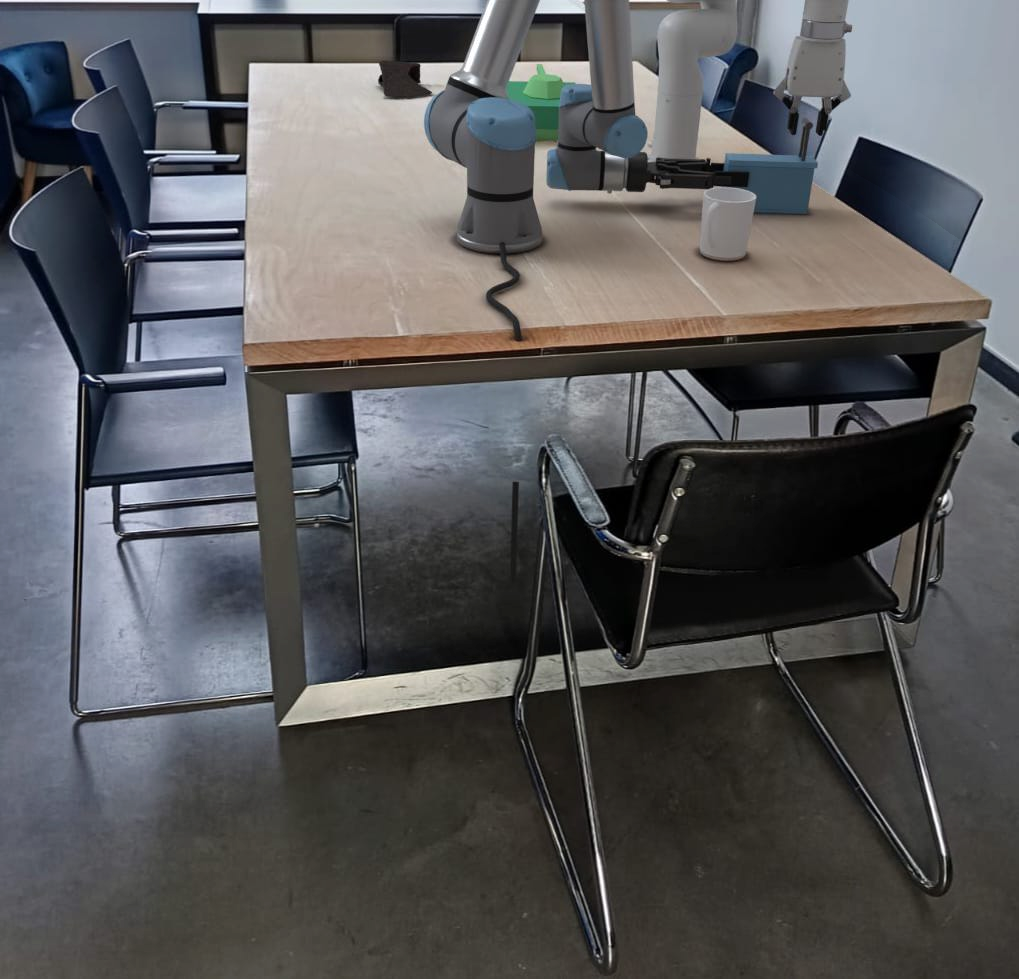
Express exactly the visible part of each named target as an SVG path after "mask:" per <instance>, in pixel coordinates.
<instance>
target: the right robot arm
mask: <svg viewBox="0 0 1019 979" xmlns="http://www.w3.org/2000/svg"><path fill="white" fill-rule="evenodd" d="M666 1H667V2H669V3H671V4H692V3H693V4H694V3H699V4H700V8H692V9H691V8H690V9H682V10H677V11H674V12H671V13H669V14H667V15H666V16H665V17H664V18H663V19H662V20H661V22H660V23H659V26H658V29H657V39H656V40H657V51H658V81H657V94H656V107H655V117H654V118H655V120H654V129H653V130H654V131H653V139H652V140H649V141H647V142H648V143H647V146H648V148H651V154H647V157H648V162H656V158H658V157H660V158H667V159H700V157H698V156H697V149H698V148H697V147H698V139H699V129H700V120H701V111H702V103H703V94H704V93H703V92H704V76H703V73H702V70H701V67H700V65H699V61H698V59H705V58H713V57H720V56H724V55H726V54H728V53H729V52H730V51H731V50H732V49H733V48H734V46H735V44H736V40H737V37H738V11H737V10H738V8H737V0H666ZM849 1H850V0H804V5H803V12H802V18H801V19H802V20H801V26H800V33H799V35H796V36H795V37H794V39H793V42H792V45H791V49H790V52H789V56H788V60H787V65H786V69H785V75H784V78H783V79H782V80H781V81H780V83H779V84H778V85H777V86H776V87H775V89H774V90H773V91H772V92H773V96H774V97H776V98H777V99H778V100H779V101H781V103H782V104H784V105H785V107H786V109H788V119H787V125H786V129H787V130H788V132H789V133H790V134H791V136H796V135H797V131H798V124H799V118H800V113H799V106H800V103H801V100H802V99H803V98H821V108H820V110H819V111H818V114H817V120H816V126H815V133H816V134H817V135H818V136H819V137H822V136H823V135H824V131H827V128H828V127H827V126H828V122H829V116H830V114H831V113H832V112H833V111H834V110H835V109H836V108H837V107H838V106H839V105H841V104H843V103H844V102H845V101H848V100H849V99H850V98H851V96H852V93H851V91H850V90H849V88H848V86H847V84H846V81H845V80H844V78H845V69H846V54H847V51H846V50H847V48H846V39H845V38H844V37H845V34H848V33H852V30H853V24H849V23H847V21H846V18H847V12H848V6H849ZM785 91H786V92H787V93H788V95H790V96H791V97H789V96H788V95H786V94H785Z"/></svg>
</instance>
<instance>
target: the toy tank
mask: <svg viewBox="0 0 1019 979" xmlns="http://www.w3.org/2000/svg"><path fill="white" fill-rule="evenodd" d="M536 72H537V74H533V75H532V76H531V77H530V78H529V80H528V81H523V80H521V81H520V80H509V82H508V85H507V88H506V90H507V93H508V96H509V99H510V100H515V101H518V102H521V103H523V104H525V105H526V106H528V107H529V108H530V109H531V110H532V112H533V114H534V116H535V127H536V139H535V142H558V133H559V105H560V95H561V90H562V88H563V87H565V86H566V85H570V84H577V83H576V81H573V82H571V81H564V80H563V79H562V77H560V76H559V75H555V74H548V73H546V71H545V68H544V66H543V64H542V63H537V64H536Z"/></svg>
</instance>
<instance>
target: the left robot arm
mask: <svg viewBox="0 0 1019 979" xmlns="http://www.w3.org/2000/svg"><path fill="white" fill-rule="evenodd" d="M540 2H541V0H486V2H485V5H484V7H483V10H482V13H481V16H480V18H479V21H478V24H477V26H476V29H475V32H474V35H473V37H472V39H471V43H470V45H469V48H468V51H467V53H466V56H465V58H464V62H463V64H462V66H461V68H460V70H457V71H455V72H453V73H451V74H450V75H449V77H448V79H447V82H446V85H445V88H444V89H443V90H441V91H440V92H438V93H436V94H435V95H434V96H433V97H432V98H431V99H430V101H429V102H428V104H427V106H426V108H425V112H424V117H423V128H424V133H425V136H426V138H427V141H428V142H429V144H430V145H431V147H432V148H433V149H434V150H435V151H436V152H438V153H439V154H440V155H441V156H442V157H443V158H445V159H447V160H449V161H452V162H455V163H457V165H460V166H462V167H463V168H465V169H466V192H467V193H466V198H465V202H464V205H463V209H462V211H461V214H460V218H459V220H458V224H457V228H456V241H457V243H458V244H459V245H461V246H462V247H464V248H466V249H468V250H470V251H475V252H479V253H486V254H497V255H500V262H501V265H502V267H503V269H504V270H506V271H507V272H508V273H510V274H511V275H512V276H513V277H512V278H510V279H509V280H506V281H505V282H501V283H499V284H496V285H494V286H492V287H490V288H489V289H488V290H487V291H486V293H485V298H486V301H487V303H489V305H491V306H493V307H494V308H495V309H497V310H499V311H500V312H501V313H503V314H504V315H505V316H506V318H507V319H508V320H510V322H511V323H512V328H513V333H514V341H515V342H517V343H520V342H522V341H523V338H522V337H523V336H522V330H521V324H520V321H519V319H518V317H517V315H515V314H514V313H513V312H512V311H511V310H510V308H508V307H507V306H506V305H504V304H503V303H501V302H500V301H498V300H496V299H495V298H494V297H493V295H494V294H496V293H498V292H501V291H503V290H506V289H508V288H511V287H513V286H515V285H516V284H517V283H518V282H519V281H520V280H521V279H520V277H521V274H520V272H519V271H518V270H517V269H516V268H515V267H513V266H512V265H511V264H510V263H509V262H508V260H507V255H508V254H517V253H524V252H527V251H530V250H533V249H536V248H538V247H539V246H540V245H541V244H542V243H543V229H542V224H541V221H540V220H541V219H540V218H539V214H538V213H539V212H538V210H537V206H536V204H535V199H534V184H535V181H534V180H535V158H536V156H535V154H536V141H535V139H536V127H535V116H534V114H533V112H532V110H531V109H530V108H529V107H528V106H526V105H525V104H523V103H521V102H518V101H515V100H510V99H509V96H508V93H507V90H506V88H507V85H508V82H509V81H510V80H511V77H512V75H513V72H514V69H515V66H516V64H517V61H518V58H519V56H520V54H521V51H522V48H523V46H524V43H525V40H526V37H527V35H528V32H529V30H530V27H531V25H532V23H533V19H534V17H535V14H536V12H537V9H538V6H539V4H540ZM583 2H584V16H585V27H586V39H587V49H588V50H587V51H588V63H589V75H590V76H589V77H590V84H588V83H576V84H570V85H566V86H565V87H563V88H562V90H561V95H560V105H559V133H558V141H557V146H556V148H551V149H548V150H547V154H546V182H545V183H546V185H547V187H548V188H550V189H554V190H563V191H568V192H571V191H596V192H597V191H598V192H607V194H608V195H611V194H612V193H613V192H623V191H624V189H625V191H626V192H627V193H643V192H645V191H646V188H647V183H648V184H649V183H650V184H655V186H659V189H660V190H661V189H662V190H664V189H683V190H685V189H688V190H707V189H711V188H715V187H722V186H727V187H748V180H749V172H734V171H723V170H724V162H711V161H712V158H710V157H706V159H704V158H699V159H667V158H660V157H658V158H656V162H648V157H647V156H648V153H647V152H646V151H642V150H643V149H644V148H645V146H646V143H647V140H648V132H649V131H648V127H647V126H646V123H645V122H644V120H643V119H642V118H640V117H639V116H638V115H637V114H636V104H635V86H634V85H635V84H634V66H633V65H634V64H633V48H632V30H631V11H630V0H583ZM597 149H599V150H597ZM511 485H512V486H511V487H512V488H511V520H510V524H511V525H510V526H511V528H510V533H511V534H510V565H509V566H510V567H509V581H510V583H516V582H517V562H518V561H517V560H518V559H517V558H518V557H517V556H518V525H519V524H518V523H519V522H518V521H519V496H520V494H519V492H520V481H512V484H511Z"/></svg>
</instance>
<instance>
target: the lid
mask: <svg viewBox="0 0 1019 979" xmlns="http://www.w3.org/2000/svg"><path fill="white" fill-rule="evenodd" d="M801 125H802V129H801V136H800V142H799V148H798V153H797V154H798V155H797V154H796V155H794V154H793V155H792V154H767V153H766V154H763V153H762V154H761V153H734V152H733V153H730V152H725V154H724V161H725V160H726V162H727V164H728V166H756V167H787V168H814V169H818V166H819V161H817V159H816V158H815V157H814V156H813V155H807V153H808V145H809V140H810V133H811V130H812V129H813V127H814V124H813V122H812V121H811V120H810V119H809V118H808V117H802V119H801Z"/></svg>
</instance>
